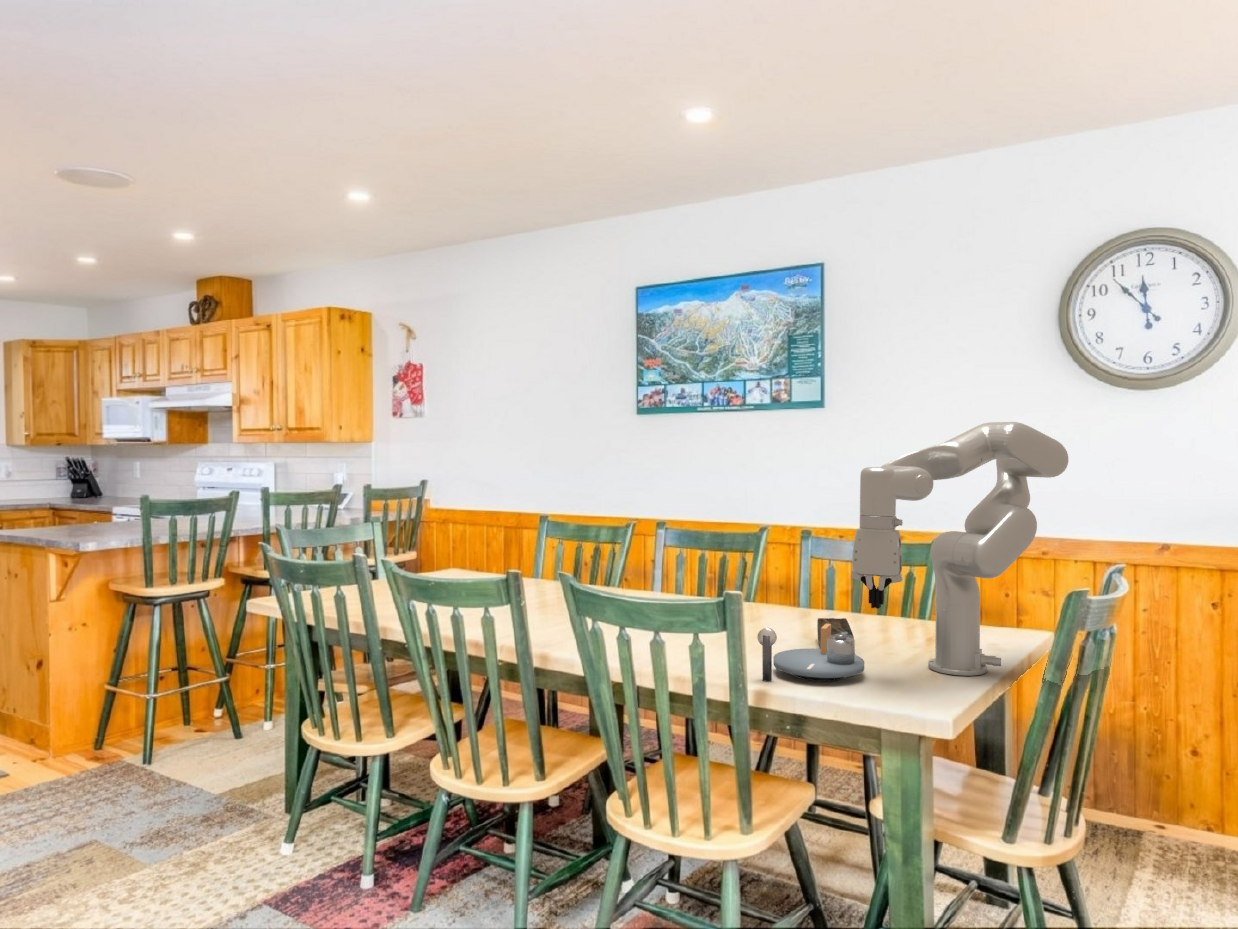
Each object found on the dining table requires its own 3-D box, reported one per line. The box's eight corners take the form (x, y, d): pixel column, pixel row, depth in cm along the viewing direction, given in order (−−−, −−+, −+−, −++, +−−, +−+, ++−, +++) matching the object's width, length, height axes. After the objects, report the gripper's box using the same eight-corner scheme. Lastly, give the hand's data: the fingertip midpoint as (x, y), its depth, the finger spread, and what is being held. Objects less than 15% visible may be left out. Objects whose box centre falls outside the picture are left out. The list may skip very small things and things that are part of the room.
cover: (857, 659, 195) (857, 633, 194) (851, 666, 189) (851, 638, 189) (830, 657, 197) (830, 631, 197) (824, 663, 192) (824, 636, 192)
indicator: (777, 680, 190) (777, 628, 190) (774, 682, 189) (774, 630, 188) (759, 678, 192) (759, 626, 192) (756, 680, 190) (756, 628, 190)
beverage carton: (820, 658, 210) (820, 631, 210) (816, 640, 229) (816, 616, 229) (854, 659, 209) (854, 632, 208) (847, 641, 228) (847, 616, 227)
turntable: (871, 659, 201) (871, 627, 200) (855, 682, 182) (855, 646, 182) (787, 651, 209) (786, 620, 209) (762, 671, 191) (762, 637, 191)
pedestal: (850, 670, 198) (850, 663, 198) (839, 683, 187) (839, 676, 187) (798, 664, 204) (798, 658, 203) (785, 677, 193) (785, 670, 193)
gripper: (915, 524, 189) (914, 607, 189) (846, 520, 195) (844, 601, 196) (910, 526, 182) (909, 613, 183) (839, 523, 189) (838, 607, 189)
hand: (876, 607), depth 189 cm, fingers closed
